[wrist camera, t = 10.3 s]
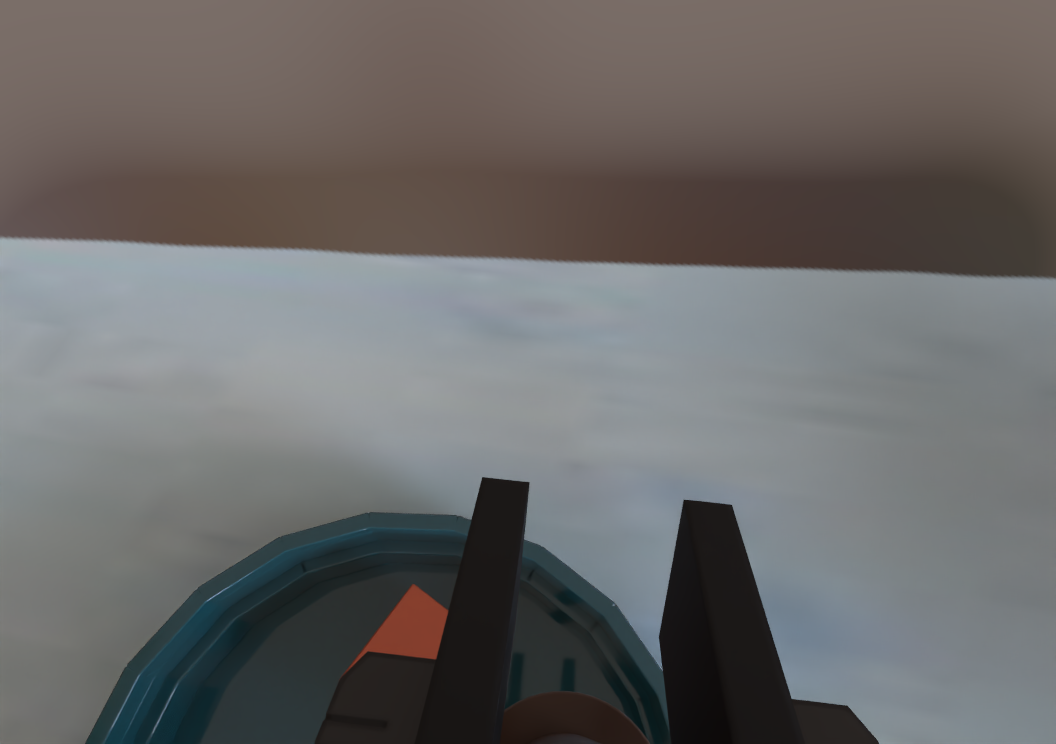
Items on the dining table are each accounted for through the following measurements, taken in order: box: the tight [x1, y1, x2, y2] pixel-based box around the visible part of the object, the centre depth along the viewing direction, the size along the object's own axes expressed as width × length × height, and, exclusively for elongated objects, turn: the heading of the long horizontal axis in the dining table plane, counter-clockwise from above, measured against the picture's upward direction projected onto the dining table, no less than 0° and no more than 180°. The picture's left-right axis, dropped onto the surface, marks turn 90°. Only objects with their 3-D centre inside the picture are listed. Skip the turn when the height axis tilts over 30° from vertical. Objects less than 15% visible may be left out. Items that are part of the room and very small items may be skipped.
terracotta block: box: [339, 584, 448, 680], centre depth 29 cm, size 4×4×4 cm
